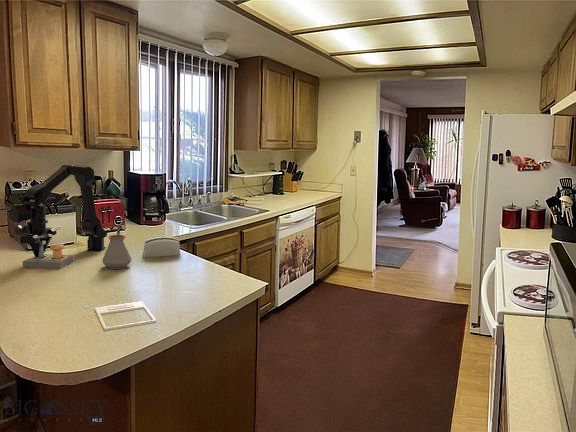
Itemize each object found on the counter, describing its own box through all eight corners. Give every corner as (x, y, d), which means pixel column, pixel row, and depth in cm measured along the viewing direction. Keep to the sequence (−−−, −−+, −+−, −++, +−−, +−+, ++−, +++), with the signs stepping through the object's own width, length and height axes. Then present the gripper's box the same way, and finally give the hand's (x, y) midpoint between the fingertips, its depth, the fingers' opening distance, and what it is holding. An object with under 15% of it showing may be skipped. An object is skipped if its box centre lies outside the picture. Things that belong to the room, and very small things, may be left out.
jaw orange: (67, 262, 197) (66, 244, 196) (61, 266, 192) (60, 247, 191) (54, 262, 197) (54, 243, 196) (48, 265, 192) (47, 246, 191)
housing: (73, 260, 201) (73, 254, 200) (60, 268, 189) (59, 261, 188) (38, 259, 200) (38, 253, 200) (22, 267, 189) (22, 260, 188)
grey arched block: (178, 252, 223) (180, 234, 218) (180, 257, 219) (181, 239, 214) (142, 254, 216) (142, 235, 212) (143, 260, 212) (143, 241, 208)
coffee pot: (130, 269, 191) (130, 233, 189) (100, 270, 188) (99, 234, 186) (133, 256, 211) (133, 224, 209) (106, 257, 209) (106, 224, 206)
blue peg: (49, 258, 197) (48, 240, 196) (42, 262, 192) (41, 243, 190) (36, 258, 197) (35, 239, 195) (29, 261, 192) (28, 242, 190)
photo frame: (141, 300, 155) (156, 319, 140) (141, 303, 155) (156, 323, 140) (94, 307, 148) (104, 327, 132) (94, 310, 148) (104, 331, 133)
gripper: (30, 214, 200) (32, 249, 203) (4, 221, 182) (6, 260, 185) (56, 215, 201) (57, 250, 203) (33, 223, 182) (35, 261, 185)
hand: (39, 255), depth 194 cm, fingers closed on blue peg, 4 cm apart
